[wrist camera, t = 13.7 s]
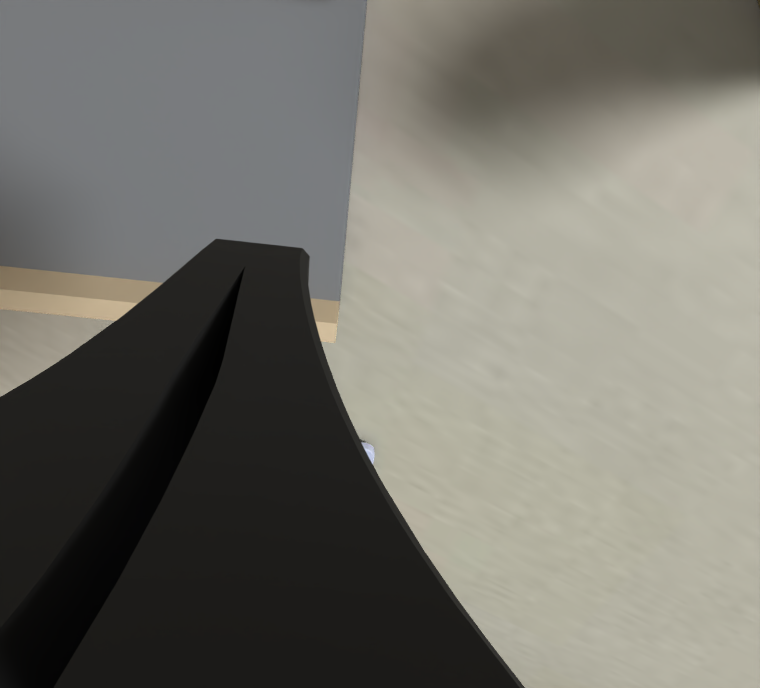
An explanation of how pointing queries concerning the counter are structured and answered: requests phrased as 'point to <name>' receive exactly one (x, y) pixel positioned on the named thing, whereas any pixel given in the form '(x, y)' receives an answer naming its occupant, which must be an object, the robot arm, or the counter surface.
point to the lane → (171, 143)
